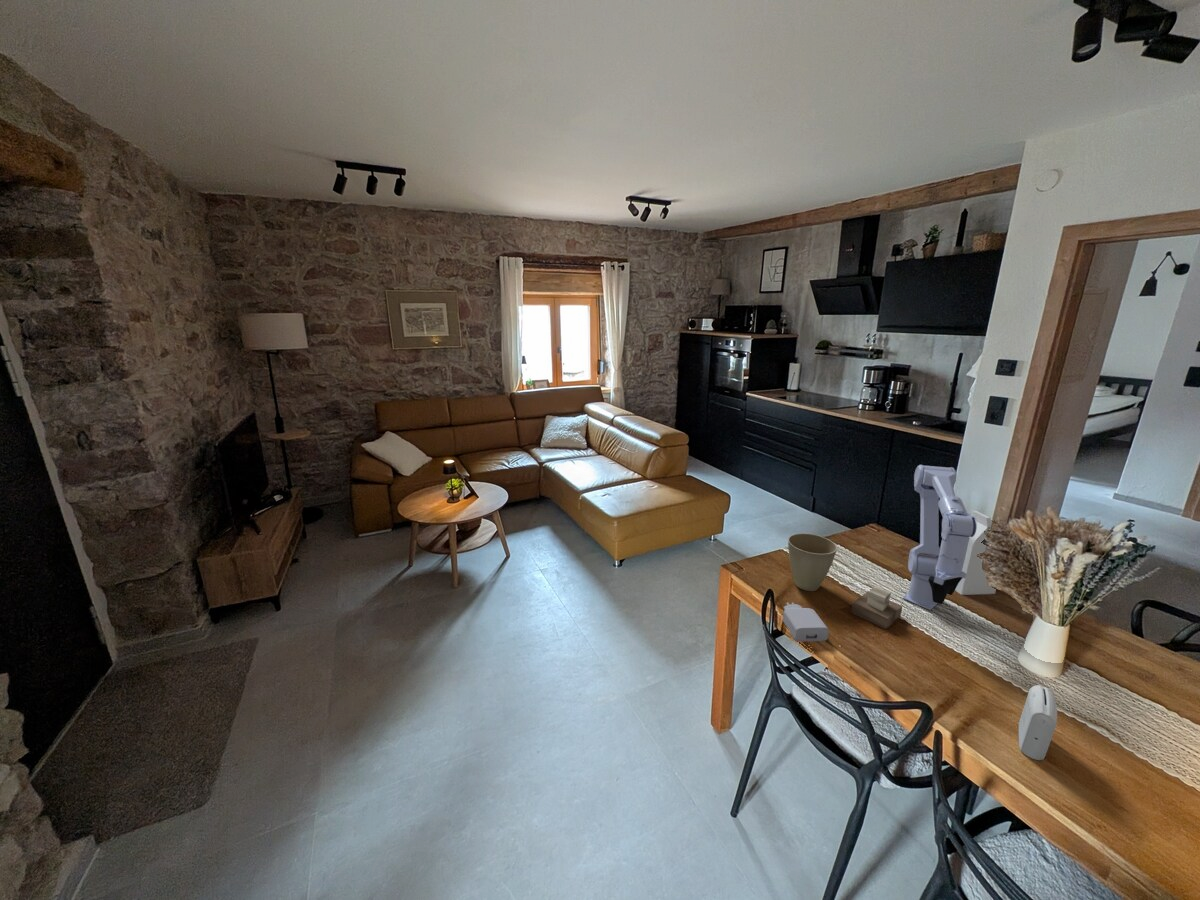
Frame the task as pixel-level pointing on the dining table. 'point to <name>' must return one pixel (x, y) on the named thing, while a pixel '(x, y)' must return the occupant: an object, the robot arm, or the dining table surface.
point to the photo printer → (1037, 722)
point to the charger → (804, 623)
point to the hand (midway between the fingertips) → (942, 597)
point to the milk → (975, 560)
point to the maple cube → (878, 598)
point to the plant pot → (810, 559)
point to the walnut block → (876, 612)
